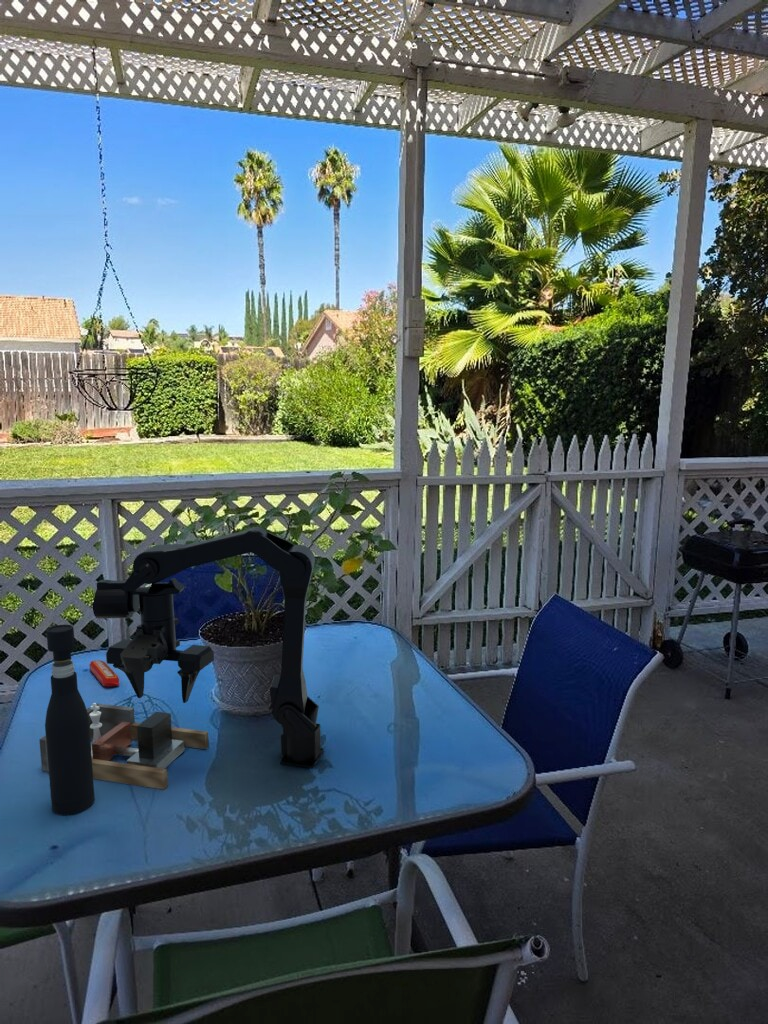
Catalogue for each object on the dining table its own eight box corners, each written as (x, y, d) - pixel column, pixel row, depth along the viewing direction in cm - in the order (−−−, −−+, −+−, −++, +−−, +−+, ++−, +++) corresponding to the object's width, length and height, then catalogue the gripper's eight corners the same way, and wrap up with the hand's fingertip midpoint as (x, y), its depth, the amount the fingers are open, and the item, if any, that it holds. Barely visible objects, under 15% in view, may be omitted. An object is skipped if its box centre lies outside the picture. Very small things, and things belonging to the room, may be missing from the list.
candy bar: (121, 687, 158) (120, 675, 158) (105, 691, 156) (104, 679, 155) (103, 667, 171) (102, 655, 170) (87, 670, 169) (87, 659, 168)
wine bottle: (50, 819, 107) (35, 637, 102) (52, 798, 113) (38, 624, 108) (95, 810, 109) (82, 631, 105) (94, 789, 115) (82, 619, 111)
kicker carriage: (184, 750, 128) (182, 710, 127) (157, 775, 119) (154, 732, 118) (123, 742, 131) (121, 703, 130) (93, 766, 122) (90, 724, 121)
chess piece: (101, 761, 124) (97, 710, 123) (78, 758, 126) (74, 707, 124) (117, 748, 129) (114, 699, 128) (95, 745, 130) (91, 696, 129)
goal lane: (208, 746, 130) (207, 716, 129) (164, 789, 115) (162, 756, 114) (98, 731, 136) (96, 703, 135) (42, 770, 121) (39, 739, 120)
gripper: (82, 627, 115) (89, 714, 118) (180, 635, 111) (185, 724, 113) (122, 608, 126) (128, 688, 128) (213, 615, 122) (217, 697, 124)
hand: (162, 699), depth 123 cm, fingers open, 9 cm apart
